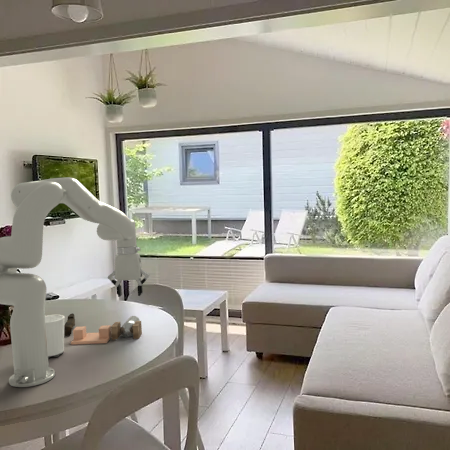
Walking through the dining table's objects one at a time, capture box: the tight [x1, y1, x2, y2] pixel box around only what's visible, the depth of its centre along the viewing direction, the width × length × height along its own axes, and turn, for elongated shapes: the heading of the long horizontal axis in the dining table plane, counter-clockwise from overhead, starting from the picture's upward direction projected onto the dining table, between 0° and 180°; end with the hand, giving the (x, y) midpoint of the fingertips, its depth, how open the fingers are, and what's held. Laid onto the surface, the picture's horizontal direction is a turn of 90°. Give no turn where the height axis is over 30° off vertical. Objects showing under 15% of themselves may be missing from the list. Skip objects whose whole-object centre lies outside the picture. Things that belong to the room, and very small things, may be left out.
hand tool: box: [64, 313, 76, 337], centre depth 186 cm, size 19×4×5 cm, turn 8°
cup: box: [45, 314, 66, 359], centre depth 155 cm, size 10×10×13 cm
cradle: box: [70, 324, 112, 345], centre depth 171 cm, size 10×13×4 cm
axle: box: [120, 315, 141, 338], centre depth 177 cm, size 12×5×5 cm, turn 178°
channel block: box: [111, 320, 143, 341], centre depth 172 cm, size 6×10×5 cm, turn 89°
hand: (129, 295), depth 179 cm, fingers open, 7 cm apart
